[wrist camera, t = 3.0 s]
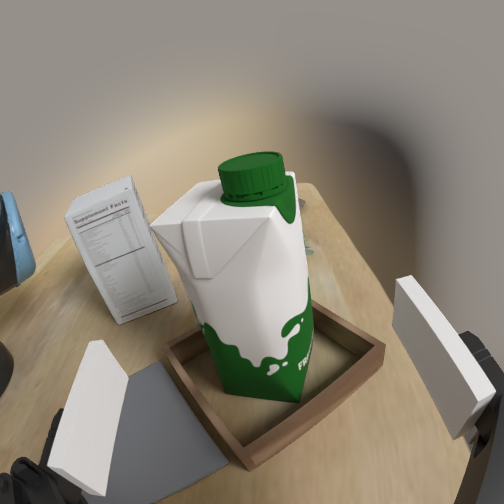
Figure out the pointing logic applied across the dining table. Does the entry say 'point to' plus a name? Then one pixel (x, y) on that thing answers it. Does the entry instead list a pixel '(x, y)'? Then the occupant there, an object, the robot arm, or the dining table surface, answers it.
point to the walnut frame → (306, 415)
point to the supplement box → (120, 250)
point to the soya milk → (246, 274)
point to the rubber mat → (156, 443)
